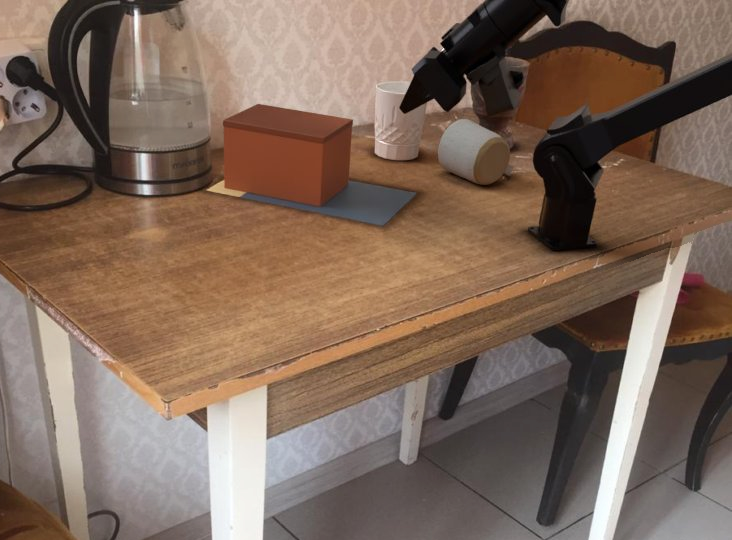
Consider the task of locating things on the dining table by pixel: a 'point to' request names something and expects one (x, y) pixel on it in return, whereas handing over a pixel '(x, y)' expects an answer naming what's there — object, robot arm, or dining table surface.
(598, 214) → the dining table surface
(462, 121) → the ceramic mug
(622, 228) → the dining table surface
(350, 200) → the mat
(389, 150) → the white cup
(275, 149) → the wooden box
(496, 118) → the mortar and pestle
